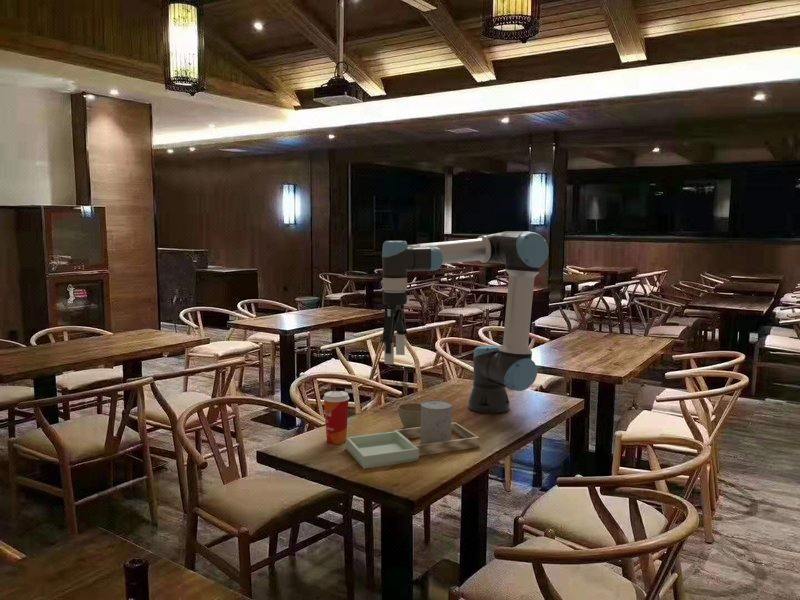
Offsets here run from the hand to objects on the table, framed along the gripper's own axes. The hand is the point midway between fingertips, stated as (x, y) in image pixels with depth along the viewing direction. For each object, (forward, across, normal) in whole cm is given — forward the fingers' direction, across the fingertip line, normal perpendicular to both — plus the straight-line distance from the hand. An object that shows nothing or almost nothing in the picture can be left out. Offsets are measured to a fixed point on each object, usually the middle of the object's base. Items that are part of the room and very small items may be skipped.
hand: (394, 359), depth 196 cm
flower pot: (+26, -11, +3) cm, 28 cm away
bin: (+25, +15, 0) cm, 29 cm away
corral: (+25, +2, +14) cm, 29 cm away
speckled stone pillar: (+26, +2, +14) cm, 29 cm away
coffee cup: (+25, +8, -17) cm, 31 cm away
